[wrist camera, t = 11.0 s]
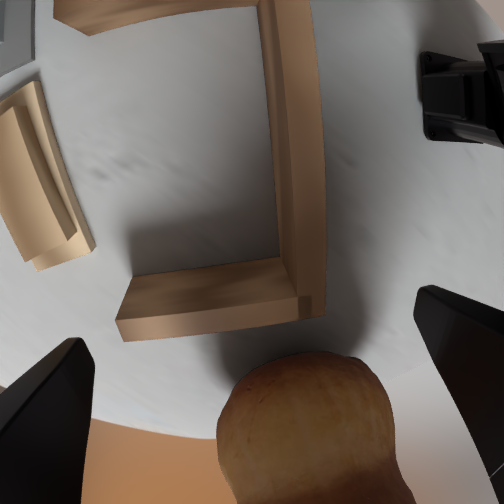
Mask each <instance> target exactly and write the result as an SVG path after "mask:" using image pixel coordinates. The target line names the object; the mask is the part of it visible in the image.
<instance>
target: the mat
mask: <svg viewBox="0 0 504 504" xmlns="http://www.w3.org/2000/svg"><path fill="white" fill-rule="evenodd" d="M34 10H35V0H6V1H5V14H4V42H3V43H1V44H0V77H1V76H3V75H5V74H7V73H9V72H11V71H13V70H15V69H17V68H19V67H21V66H23V65H25V64H27V63H29V62H31V61H34V60H35V51H34Z"/></svg>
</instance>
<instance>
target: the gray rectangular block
mask: <svg viewBox="0 0 504 504" xmlns="http://www.w3.org/2000/svg"><path fill="white" fill-rule="evenodd" d="M5 1H6V0H0V44H1V43H3V42H4V14H5Z"/></svg>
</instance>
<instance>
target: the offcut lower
mask: <svg viewBox="0 0 504 504" xmlns="http://www.w3.org/2000/svg"><path fill="white" fill-rule="evenodd" d="M14 106H27V109H28V112H29V116H30V119H31V122H32V125H33V127H34V130H35V133H36V136H37V139H38V142H39V144H40V147H41V150H42V152H43V155H44V157H45V160H46V163H47V165H48V168H49V170H50V172H51V175H52V177H53V180H54V182H55V184H56V187H57V189H58V191H59V194H60V196H61V198H62V200H63V202H64V205H65V207H66V209H67V211H68V213H69V215H70V217H71V220H72V222H73V224H74V226H75V228H76V230H77V232H76V233H75V234H74V235H73V236H72V237H71V238H70V239H69V240H68V241H67V242H65V243H63V244H61V245H59V246H57V247H55V248H53V249H51V250H49V251H47V252H45V253H43V254H41V255H39V256H37V257H35V258H33V259H31V260H32V262H33V264H34V266H35V268H36V270H37V272H39V271H41V270H44V269H47V268H50V267H52V266H55V265H58V264H61V263H63V262H66V261H69V260H72V259H75V258H78V257H80V256H83V255H86V254H89V253H91V252H92V251H93V250H94V248H95V247H96V245H95V242H94V240H93V238H92V236H91V233H90V231H89V228H88V226H87V224H86V221H85V219H84V216H83V214H82V211H81V209H80V206H79V204H78V201H77V199H76V196H75V193H74V191H73V188H72V185H71V183H70V180H69V177H68V174H67V171H66V169H65V166H64V163H63V160H62V157H61V154H60V151H59V147H58V144H57V141H56V138H55V134H54V131H53V128H52V124H51V121H50V117H49V113H48V110H47V106H46V102H45V98H44V94H43V90H42V86H41V81H32V82H30V83H28V84H27V85H25V86H24V87H22V88H21V89H19V90H17V91H16V92H14V93H13V94H11V95H10V96H8V97H7V98H6V99H4V100H3V101H1V102H0V116H1V115H3V114H4V113H5V112H6V111H8V110H9V109H10V108H11V107H14Z"/></svg>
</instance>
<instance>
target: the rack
mask: <svg viewBox="0 0 504 504" xmlns="http://www.w3.org/2000/svg"><path fill="white" fill-rule="evenodd" d="M246 6H257V14H258V22H259V30H260V39H261V48H262V57H263V66H264V75H265V85H266V94H267V104H268V115H269V125H270V136H271V147H272V158H273V170H274V182H275V194H276V207H277V220H278V234H279V248H280V257H274V258H267V259H260V260H253V261H246V262H239V263H231V264H224V265H217V266H210V267H202V268H195V269H188V270H180V271H173V272H166V273H158V274H151V275H143V276H136V277H132V279H131V282H130V284H129V287H128V289H127V291H126V294H125V296H124V299H123V301H122V304H121V306H120V309H119V311H118V314H117V316H116V319H115V322H116V324H117V327H118V329H119V332H120V334H121V337H122V339H123V341H124V342H130V341H142V340H153V339H164V338H174V337H183V336H192V335H201V334H209V333H217V332H225V331H232V330H240V329H247V328H254V327H260V326H267V325H273V324H279V323H285V322H291V321H297V320H303V319H309V318H314V317H320V316H325V307H326V256H327V234H326V183H325V158H324V140H323V124H322V110H321V97H320V86H319V75H318V65H317V56H316V47H315V39H314V31H313V23H312V16H311V9H310V2H309V0H54V9H53V18H54V19H56V20H58V21H60V22H62V23H64V24H66V25H68V26H70V27H72V28H74V29H76V30H78V31H80V32H82V33H84V34H86V35H88V36H91V35H94V34H97V33H101V32H104V31H107V30H111V29H114V28H118V27H122V26H125V25H129V24H133V23H137V22H141V21H146V20H150V19H155V18H160V17H165V16H170V15H176V14H182V13H188V12H195V11H203V10H211V9H220V8H232V7H246Z"/></svg>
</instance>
